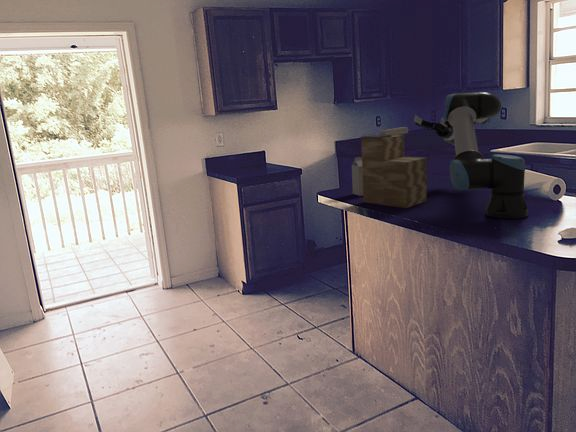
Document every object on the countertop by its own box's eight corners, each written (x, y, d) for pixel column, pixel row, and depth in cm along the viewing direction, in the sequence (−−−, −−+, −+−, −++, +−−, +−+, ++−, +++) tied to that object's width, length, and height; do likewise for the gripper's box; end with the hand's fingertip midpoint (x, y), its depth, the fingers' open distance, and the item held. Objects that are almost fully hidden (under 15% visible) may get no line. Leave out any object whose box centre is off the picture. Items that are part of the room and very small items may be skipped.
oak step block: (384, 196, 245) (383, 134, 238) (426, 201, 228) (426, 135, 221) (363, 202, 235) (361, 138, 228) (405, 208, 217) (404, 139, 211)
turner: (378, 138, 220) (378, 132, 219) (361, 138, 227) (361, 132, 226) (414, 132, 237) (414, 127, 236) (397, 132, 244) (397, 127, 243)
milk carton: (371, 194, 252) (370, 157, 247) (359, 196, 249) (358, 158, 245) (364, 192, 258) (363, 155, 254) (352, 194, 256) (351, 157, 251)
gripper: (467, 141, 242) (451, 129, 226) (421, 136, 258) (402, 124, 242) (471, 126, 242) (455, 113, 226) (425, 122, 258) (406, 109, 242)
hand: (428, 119), depth 234 cm, fingers open, 13 cm apart
